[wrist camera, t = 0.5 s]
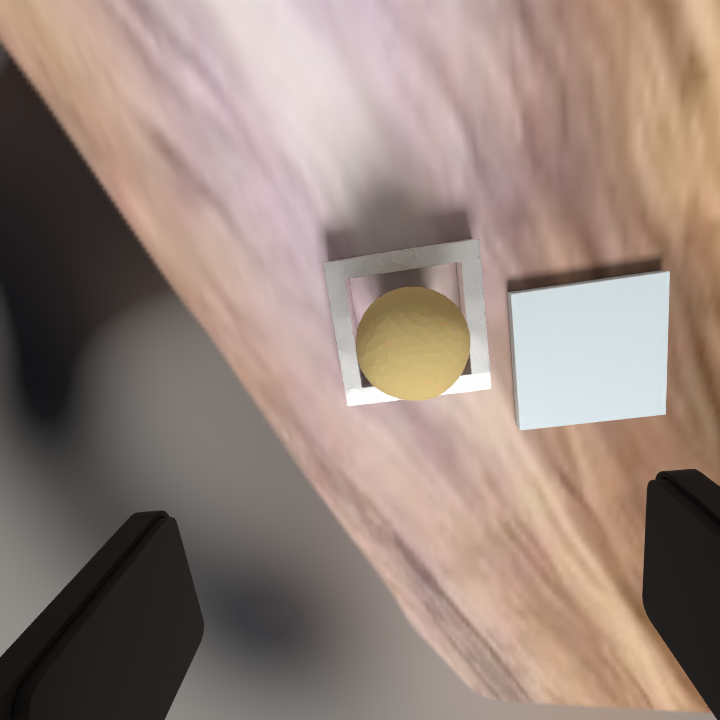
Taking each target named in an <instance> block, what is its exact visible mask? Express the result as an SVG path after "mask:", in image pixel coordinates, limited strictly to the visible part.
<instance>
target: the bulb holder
mask: <svg viewBox="0 0 720 720" xmlns="http://www.w3.org/2000/svg"><path fill="white" fill-rule="evenodd" d="M455 262H456V265H457V276H458V286H459V296H460V307H461V312H462V314H463V316H464V318H465V319H466V322H467V325H468V328H469V332H470V344H471V345H470V352H469V357H468V360H467V363H466V366H465V368H464V370H463V372H462V374H461V375H460V377H459V378H458V380H457V381H456V382H455V383H454V384H453V386H452V387H450V388H449V389H448V390H447V391H445V392H444V393H443V394H441V395H444V394H452V393H460V392H469V391H477V390H485V389H491V377H490V365H489V353H488V341H487V329H486V316H485V304H484V292H483V280H482V268H481V256H480V243H479V239H473V238H472V239H465V240H459V241H453V242H446V243H440V244H434V245H427V246H421V247H415V248H408V249H402V250H396V251H389V252H383V253H377V254H370V255H364V256H358V257H351V258H345V259H339V260H332V261H327V262H325V263H323V267H324V273H325V279H326V285H327V290H328V296H329V302H330V307H331V313H332V319H333V325H334V330H335V336H336V342H337V347H338V353H339V359H340V365H341V370H342V376H343V382H344V388H345V393H346V399H347V405H348V406H353V405H361V404H369V403H377V402H386V401H394V400H402V399H398V398H395V397H392V396H389V395H387V394H385V393H383V392H382V391H380V390H379V389H377V388H376V387H374V386H373V385H372V384H371V383H370V382H369V380H368V379H367V378H366V377H364V373H363V372H362V370H361V368H360V365H359V362H358V359H357V353H356V334H357V329H356V323H355V317H354V310H353V304H352V298H351V292H350V286H349V279H350V278H357V277H363V276H370V275H377V274H383V273H390V272H396V271H403V270H409V269H416V268H422V267H429V266H436V265H442V264H449V263H455Z"/></svg>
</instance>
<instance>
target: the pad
mask: <svg viewBox="0 0 720 720" xmlns="http://www.w3.org/2000/svg"><path fill="white" fill-rule="evenodd" d="M669 278H670V272H669V271H662V270H659V271H652V272H645V273H638V274H631V275H624V276H617V277H610V278H603V279H596V280H589V281H582V282H575V283H568V284H561V285H555V286H548V287H541V288H534V289H527V290H520V291H513V292H507V295H508V310H509V325H510V340H511V354H512V369H513V384H514V398H515V413H516V425H517V427H518V428H519V430H528V429H537V428H546V427H555V426H564V425H573V424H582V423H591V422H600V421H610V420H619V419H628V418H637V417H646V416H655V415H664V414H666V384H667V348H668V313H669Z"/></svg>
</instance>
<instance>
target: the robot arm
mask: <svg viewBox="0 0 720 720" xmlns="http://www.w3.org/2000/svg"><path fill="white" fill-rule="evenodd" d="M642 598H643V605H644V608H645V611H646V614H647V616H648V618H649V619H650V621H651V623H652V624H653V626H654V627H655V629H656V630H657V631H658V633H659V634H660V636H661V637H662V639H663V640H664V642H665V643H666V645H667V646H668V648H669V649H670V651H671V652H672V654H673V655H674V657H675V658H676V660H677V661H678V662H679V664H680V665H681V667H682V668H683V670H684V671H685V673H686V674H687V676H688V677H689V679H690V680H691V682H692V683H693V685H694V686H695V688H696V689H697V691H698V692H699V693H700V695H701V696H702V698H703V699H704V701H705V702H706V704H707V705H708V707H709V708H710V710H711V711H712V713H713V714H714V716H715V717H716V719H717V720H720V486H718V485H717V484H716V483H714V482H713V481H712V480H710V479H709V478H708V477H706V476H705V475H704V474H702V473H701V472H699V471H698V470H696V469H686V470H673V471H661V472H659V473H658V474H657V476H656V479H655V480H651V481H649V483H648V486H647V503H646V525H645V548H644V571H643V593H642ZM203 631H204V621H203V617H202V613H201V610H200V606H199V602H198V598H197V595H196V591H195V588H194V584H193V580H192V577H191V573H190V569H189V566H188V562H187V558H186V554H185V551H184V547H183V543H182V540H181V536H180V533H179V529H178V525H177V522H176V520H175V519H174V518H172V517H169V515H168V514H167V513H166V512H165V511H149V512H138V513H134V514H133V515H132V516H130V518H129V519H128V520H127V521H126V522H125V523H124V524H123V525H122V526H121V527H120V528H119V529H118V531H117V532H116V533H115V534H114V535H113V536H112V537H111V538H110V539H109V540H108V541H107V543H106V544H105V545H104V546H103V547H102V548H101V549H100V550H99V551H98V552H97V553H96V554H95V555H94V557H93V558H92V559H91V560H90V561H89V562H88V563H87V564H86V565H85V566H84V567H83V569H81V571H80V572H79V573H78V574H77V575H76V576H75V577H74V578H73V579H72V580H71V581H70V583H69V584H68V585H67V586H66V587H65V588H64V589H63V590H62V591H61V592H60V593H59V595H57V597H56V598H55V599H54V600H53V601H52V602H51V603H50V604H49V605H48V606H47V607H46V609H45V610H44V611H43V612H42V613H41V614H40V615H39V616H38V617H37V618H36V619H35V620H34V621H33V622H32V624H31V625H30V626H29V627H28V628H27V629H26V630H25V631H24V632H23V633H22V634H21V636H20V637H19V638H18V639H17V640H16V641H15V642H14V643H13V644H12V645H11V646H10V647H9V648H8V649H7V651H6V652H5V653H4V654H3V655H2V656H1V657H0V720H165V718H166V716H167V713H168V711H169V709H170V707H171V705H172V702H173V700H174V698H175V696H176V694H177V692H178V690H179V688H180V685H181V683H182V681H183V679H184V677H185V675H186V673H187V670H188V668H189V666H190V664H191V662H192V660H193V657H194V655H195V653H196V651H197V649H198V647H199V645H200V642H201V640H202V636H203Z"/></svg>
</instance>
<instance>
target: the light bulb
mask: <svg viewBox="0 0 720 720" xmlns="http://www.w3.org/2000/svg"><path fill="white" fill-rule="evenodd" d="M470 345H471V344H470V332H469V328H468V325H467V322H466V319H465V318H464V316H463V314H462V312H461V311H460V309H459V308H458V307H457V306H456V305H455V303H453V302H452V301H451V300H450V299H448V298H447V297H446V296H444V295H442V294H440V293H438V292H436V291H434V290H431V289H428V288H424V287H403V288H398V289H394V290H392V291H389V292H387V293H385V294H384V295H382V296H380V297H379V298H378V299H377V300H376V301H374V302H373V303H372V304H371V305H370V307H369V308H368V309H367V310H366V312H365V313H364V315H363V317H362V319H361V321H360V323H359V326H358V330H357V334H356V353H357V359H358V362H359V365H360V368H361V370H362V372H363V373H364V375H365V377H366V378H367V379H368V380H369V382H370V383H371V384H372V385H373V386H374V387H376V388H377V389H379V390H380V391H382V392H383V393H385V394H387V395H389V396H392V397H395V398H398V399H403V400H426V399H430V398H434V397H437V396H439V395H441V394H443V393H444V392H445V391H447V390H448V389H449V388H450V387H452V386H453V384H454V383H455V382H456V381H457V380H458V378H459V377H460V375H461V374H462V372H463V370H464V368H465V366H466V363H467V360H468V357H469V352H470Z"/></svg>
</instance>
